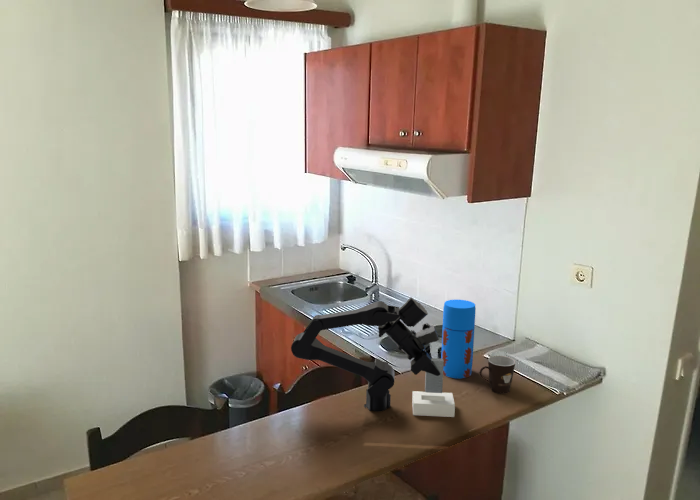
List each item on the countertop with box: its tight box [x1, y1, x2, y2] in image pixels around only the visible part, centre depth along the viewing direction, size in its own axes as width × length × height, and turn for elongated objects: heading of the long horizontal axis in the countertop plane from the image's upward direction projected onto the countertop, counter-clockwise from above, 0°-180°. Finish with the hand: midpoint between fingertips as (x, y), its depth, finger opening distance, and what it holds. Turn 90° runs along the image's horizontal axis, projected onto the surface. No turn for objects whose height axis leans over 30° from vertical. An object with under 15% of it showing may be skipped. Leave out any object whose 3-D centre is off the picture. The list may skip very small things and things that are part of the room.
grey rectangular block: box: [424, 357, 444, 393], centre depth 166 cm, size 5×2×10 cm, turn 86°
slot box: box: [411, 390, 456, 418], centre depth 168 cm, size 12×8×4 cm, turn 86°
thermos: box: [440, 299, 476, 379], centre depth 195 cm, size 11×11×25 cm
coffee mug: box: [479, 355, 516, 395], centre depth 183 cm, size 12×9×10 cm
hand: (439, 373), depth 166 cm, fingers closed on grey rectangular block, 2 cm apart
